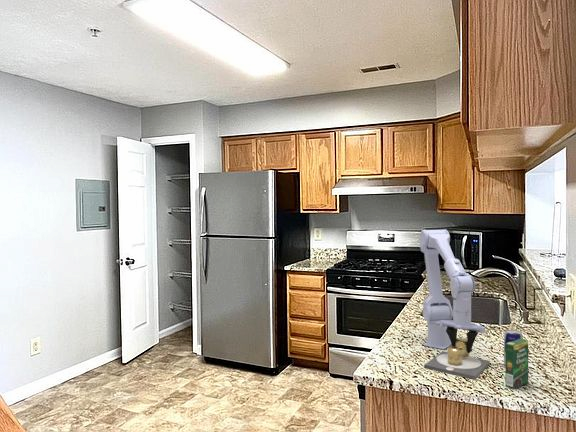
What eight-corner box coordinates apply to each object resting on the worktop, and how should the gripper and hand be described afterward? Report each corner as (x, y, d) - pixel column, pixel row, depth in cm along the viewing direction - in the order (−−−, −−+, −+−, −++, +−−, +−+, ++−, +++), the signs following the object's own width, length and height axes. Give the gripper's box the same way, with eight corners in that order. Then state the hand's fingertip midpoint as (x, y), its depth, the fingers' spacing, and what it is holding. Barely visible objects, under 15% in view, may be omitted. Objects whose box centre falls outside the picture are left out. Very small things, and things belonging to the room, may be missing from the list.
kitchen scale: (442, 353, 160) (442, 349, 160) (489, 363, 150) (490, 359, 150) (424, 367, 147) (424, 363, 147) (474, 379, 137) (474, 374, 137)
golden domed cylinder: (450, 360, 150) (450, 345, 150) (464, 363, 147) (464, 348, 147) (445, 363, 146) (445, 348, 146) (459, 367, 143) (459, 351, 143)
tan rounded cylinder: (457, 351, 155) (457, 337, 155) (470, 354, 152) (470, 339, 152) (452, 355, 152) (453, 340, 152) (466, 358, 149) (466, 343, 149)
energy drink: (512, 372, 143) (512, 334, 143) (500, 366, 148) (500, 330, 148) (526, 370, 144) (526, 333, 144) (513, 364, 150) (513, 328, 149)
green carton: (513, 389, 129) (514, 345, 129) (504, 386, 132) (504, 342, 132) (529, 383, 134) (529, 340, 133) (519, 380, 136) (520, 337, 136)
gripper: (436, 310, 153) (436, 349, 153) (481, 316, 144) (480, 358, 144) (443, 306, 159) (443, 344, 159) (487, 312, 149) (486, 352, 150)
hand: (461, 350), depth 152 cm, fingers closed on tan rounded cylinder, 4 cm apart
